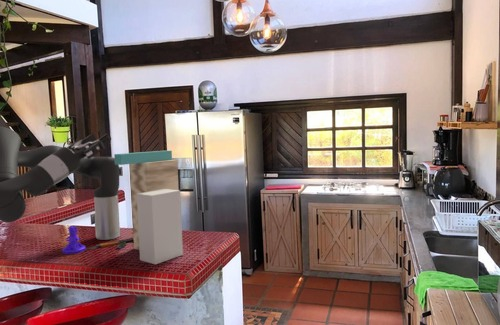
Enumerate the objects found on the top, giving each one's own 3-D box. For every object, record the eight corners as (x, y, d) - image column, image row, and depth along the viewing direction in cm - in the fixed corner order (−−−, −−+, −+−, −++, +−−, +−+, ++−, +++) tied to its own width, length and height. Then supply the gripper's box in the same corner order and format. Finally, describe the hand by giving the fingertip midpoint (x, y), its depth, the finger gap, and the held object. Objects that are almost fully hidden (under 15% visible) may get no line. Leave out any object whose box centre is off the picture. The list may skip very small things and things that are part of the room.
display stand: (134, 248, 147) (129, 162, 145) (163, 239, 158) (160, 159, 156) (151, 253, 141) (146, 163, 138) (180, 243, 152) (177, 160, 149)
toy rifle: (78, 255, 138) (71, 249, 146) (79, 259, 138) (72, 252, 146) (168, 237, 158) (157, 232, 166) (168, 240, 158) (157, 235, 166)
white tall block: (140, 260, 134) (136, 193, 132) (167, 250, 143) (164, 188, 141) (155, 264, 129) (151, 195, 127) (183, 254, 138) (180, 190, 136)
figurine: (59, 257, 143) (55, 230, 141) (68, 248, 151) (64, 223, 149) (80, 256, 143) (77, 229, 141) (89, 247, 151) (85, 222, 149)
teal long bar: (114, 164, 136) (114, 154, 136) (165, 159, 154) (164, 150, 153) (121, 164, 134) (121, 154, 134) (172, 159, 151) (171, 150, 151)
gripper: (63, 155, 107) (108, 125, 118) (39, 154, 116) (83, 126, 127) (78, 178, 111) (120, 146, 121) (53, 175, 120) (95, 146, 130)
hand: (101, 136), depth 124 cm, fingers open, 8 cm apart
